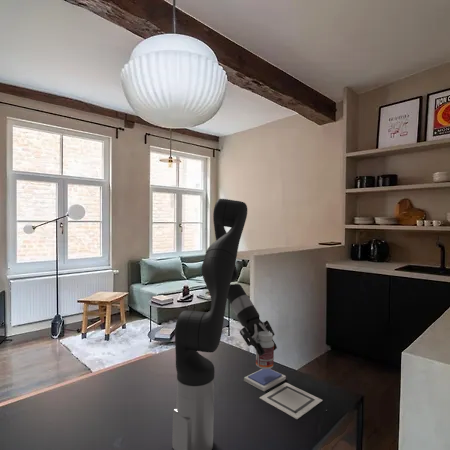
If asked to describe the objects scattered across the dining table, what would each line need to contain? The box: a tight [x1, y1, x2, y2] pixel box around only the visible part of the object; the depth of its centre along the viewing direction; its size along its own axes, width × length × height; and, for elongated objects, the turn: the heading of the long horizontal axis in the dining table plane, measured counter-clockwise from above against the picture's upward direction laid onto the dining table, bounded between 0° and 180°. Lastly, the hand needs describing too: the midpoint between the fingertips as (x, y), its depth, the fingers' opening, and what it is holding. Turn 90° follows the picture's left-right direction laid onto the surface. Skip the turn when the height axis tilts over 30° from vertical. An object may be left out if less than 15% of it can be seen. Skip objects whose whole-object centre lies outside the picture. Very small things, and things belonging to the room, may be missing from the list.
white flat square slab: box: [258, 382, 323, 420], centre depth 98 cm, size 14×14×1 cm
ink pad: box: [243, 368, 287, 392], centre depth 109 cm, size 12×9×2 cm
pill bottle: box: [255, 331, 275, 370], centre depth 109 cm, size 6×6×11 cm
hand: (268, 351), depth 108 cm, fingers closed on pill bottle, 6 cm apart
